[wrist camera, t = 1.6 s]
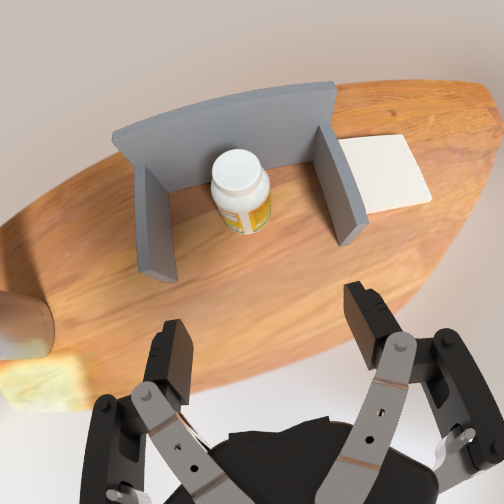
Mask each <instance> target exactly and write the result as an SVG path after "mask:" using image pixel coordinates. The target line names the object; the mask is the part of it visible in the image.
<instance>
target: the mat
mask: <svg viewBox="0 0 504 504" xmlns="http://www.w3.org/2000/svg"><path fill="white" fill-rule="evenodd" d="M338 142H339V145H340V147H341V149H342V152H343V154H344V156H345V159H346V161H347V164H348V166H349V168H350V171H351V173H352V176H353V179H354V181H355V184H356V186H357V189H358V192H359V195H360V197H361V200H362V203H363V206H364V209H365V212H366V214H369V213H375V212H380V211H385V210H390V209H395V208H400V207H405V206H410V205H416V204H421V203H426V202H429V201H431V200H432V197H431V194H430V192H429V189H428V187H427V185H426V182H425V180H424V178H423V176H422V173H421V171H420V169H419V167H418V165H417V163H416V161H415V158H414V156H413V154H412V152H411V150H410V148H409V147H408V145H407V143H406V141H405V139H404V137H403V135H402V134H397V135H382V136H369V137H359V138H349V139H340V140H338Z"/></svg>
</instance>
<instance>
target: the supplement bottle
mask: <svg viewBox="0 0 504 504" xmlns="http://www.w3.org/2000/svg"><path fill="white" fill-rule="evenodd" d="M212 176H213V178H212V182H211V194H212V197H213V199H214V201H215V203H216V205H217V207H218V209H219V211H220V213H221V215H222V218H223V220H224V221H225V223H226V225H227V226H228V227H229V228H230V229H231V230H233V231H234V232H236V233H239V234H253V233H256V232H258V231H259V230H261V229H262V228H263V227H264V226H265V225H266V224H267V222H268V220H269V218H270V215H271V200H270V181H269V177H268V174H267V173H266V171H265V170H264V169H263V167H261V165H260V162H259V160H258V158H257V157H256V156H255V155H254V154H253V153H251V152H249V151H247V150H243V149H234V150H230V151H227V152H225V153H223V154H222V155H220V156H219V157H218V158H217V159H216V161H215V162H214V164H213V168H212Z"/></svg>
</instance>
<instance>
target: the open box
mask: <svg viewBox="0 0 504 504" xmlns="http://www.w3.org/2000/svg"><path fill="white" fill-rule="evenodd" d="M337 90H338V89H337V88H336V86H335V84H334V83H333V81H330V82H329V81H328V82H314V83H304V84H294V85H286V86H279V87H272V88H265V89H259V90H253V91H248V92H243V93H238V94H233V95H228V96H224V97H220V98H215V99H211V100H207V101H203V102H199V103H196V104H192V105H189V106H185V107H182V108H178V109H175V110H172V111H169V112H165V113H162V114H159V115H157V116H154V117H151V118H148V119H145V120H143V121H140V122H137V123H134V124H132V125H129V126H127V127H124V128H122V129H119V130H117V131H114V132H113V134H112V143H113V144H114V145H115V146H116V147H117V148H118V150H119V151H120V152H121V153H122V154H123V155H124V156H125V158H126V159H127V160H128V161H129V162H130V163H131V164H132V166H133V167H134V168H135V227H136V244H137V257H138V269H139V273H142V274H144V275H147V276H150V277H152V278H155V279H158V280H161V281H163V282H166V283H171V282H176V281H178V278H177V271H176V264H175V256H174V247H173V239H172V229H171V219H170V208H169V196H168V193H171V192H174V191H178V190H182V189H185V188H189V187H193V186H197V185H201V184H205V183H209V182H212V178H213V176H212V168H213V164H214V162H215V161H216V159H217V158H218V157H219V156H220V155H222V154H223V153H225V152H227V151H230V150H234V149H243V150H247V151H249V152H251V153H253V154H254V155H255V156H256V157H257V158H258V160H259V162H260V165H261V167H263V169H264V170H267V169H272V168H277V167H282V166H287V165H293V164H299V163H304V162H310V161H312V162H313V165H314V168H315V171H316V173H317V176H318V179H319V182H320V185H321V188H322V191H323V194H324V197H325V200H326V203H327V207H328V210H329V213H330V216H331V219H332V223H333V226H334V230H335V233H336V236H337V240H338V243H339V247H340V246H344V245H349V244H350V243H351V242H352V241H353V240H354V239H355V238H356V237H357V236H358V235H359V233H360V232H361V231H362V230H363V229H364V228H365V227H366V226H367V225H368V224H369V221H368V217H367V215H366V212H365V209H364V206H363V203H362V200H361V197H360V195H359V192H358V189H357V186H356V184H355V181H354V179H353V176H352V173H351V171H350V168H349V166H348V164H347V161H346V159H345V156H344V154H343V152H342V149H341V147H340V145H339V142H338V140H337V138H336V136H335V133H334V131H333V129H332V127H331V125H330V122H331V117H332V113H333V108H334V104H335V99H336V95H337Z"/></svg>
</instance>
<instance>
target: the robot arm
mask: <svg viewBox="0 0 504 504" xmlns="http://www.w3.org/2000/svg"><path fill="white" fill-rule="evenodd" d="M344 314H345V318H346V320H347V322H348V325H349V327H350V329H351V331H352V333H353V336H354V338H355V340H356V342H357V344H358V347H359V349H360V351H361V354H362V356H363V358H364V360H365V363H366V365H367V367H368V370H372V369H375V368H376V370H377V371H376V374H375V377H374V379H373V381H372V383H371V385H370V388H369V391H368V393H367V396H366V398H365V401H364V403H363V405H362V408H361V410H360V412H359V415H358V417H357V419H356V421H355V424H354V425H351V424H348V423H345V422H338V421H330V420H329V416H326V417H322V418H318V419H314V420H310V421H305V422H303V423H300V424H298V425H296V426H293V427H291V428H289V429H286V430H284V431H282V432H277V433H276V432H260V431H247V432H238V433H229V439H228V440H225V441H223V442H221V443H219V444H218V445H216V446H214V447H213V448H211V447H210V445H208V443H206V441H205V440H204V439H203V438H202V437H201V436H200V435H199V434H198V433H197V431H196V430H195V429H194V428H193V427H192V426H191V424H190V423H189V422H188V420H187V419H186V418H185V417H184V415H183V414H182V413H181V412H180V411H181V405H189V395H190V383H191V371H192V361H193V342H192V340H191V337H190V336H189V334H188V332H187V330H186V328H185V326H184V324H183V323H182V321H181V320H180V319H176V320H169V321H165V322H164V326H163V330H162V332H158V333H157V334H156V336H155V337H154V339H153V340H152V344H151V348H150V350H151V351H150V352H149V357H148V361H147V365H146V369H145V374H144V378H143V382H142V383H140V384H138V385H137V386H136V387H135V388H134V390H133V391H132V394H131V395H129V396H126V397H122V398H119V399H116V398H115V397H114V396H112V395H110V394H105V395H102V396H101V397H99V398H98V399H97V400H96V402H95V404H94V407H93V412H92V417H91V422H90V427H89V432H88V437H87V443H86V449H85V456H84V463H83V471H82V479H81V489H80V502H79V503H80V504H152V503H151V499H150V498H149V496H148V495H147V494H146V493H144V467H145V447H146V434H147V433H148V435H149V437H150V439H151V440H152V442H153V444H154V445H155V447H156V448H157V450H158V451H159V453H160V454H161V455H162V457H163V459H164V460H165V461H166V463H167V464H168V466H169V467H170V469H171V470H172V471H173V473H174V474H175V475H176V477H177V478H178V479H179V480H180V482H181V483H182V484H181V485H180V486H179V487H178V488H177V489H176V490H175V491H174V493H173V494H172V495H171V496H170V497H169V498H168V499H167V500H166V502H164V504H436V501H437V497H438V494H440V493H442V492H444V491H446V490H448V489H449V488H452V487H454V486H455V485H457V484H459V483H461V482H462V481H464V480H467V479H469V478H472V477H474V476H476V475H478V474H480V473H482V472H483V471H486V470H487V469H489V468H491V467H493V466H495V465H496V464H498V463H500V462H502V461H503V460H504V420H503V417H502V415H501V413H500V411H499V408H498V406H497V404H496V402H495V400H494V398H493V395H492V393H491V391H490V389H489V387H488V385H487V383H486V381H485V379H484V377H483V375H482V374H481V372H480V370H479V368H478V367H477V364H476V363H475V361H474V359H473V357H472V356H471V354H470V352H469V351H468V349H467V347H466V345H465V344H464V342H463V341H462V339H461V337H460V336H459V334H458V333H457V332H456V331H454V330H452V329H449V328H444V329H440V330H439V331H437V332H436V334H435V335H434V338H423V339H417V338H414V337H413V336H412V335H411V334H409V333H406V332H403V331H402V329H401V328H400V326H399V324H398V323H397V321H396V319H395V318H394V316H393V314H392V313H391V311H390V310H389V309H388V307H387V305H386V303H384V300H383V299H382V297H381V296H380V294H379V293H377V292H376V291H374V290H373V289H367V290H365V289H364V287H363V285H362V284H361V282H360V281H356V282H352V283H349V284H345V285H344ZM53 341H54V324H53V319H52V316H51V312H50V310H49V308H48V306H47V305H46V303H45V302H44V301H43V300H41V299H39V298H35V297H30V296H25V295H20V294H15V293H11V292H6V291H1V290H0V360H19V359H39V358H44V357H46V356H47V355H48V354H49V352H50V351H51V348H52V346H53ZM411 383H421V385H422V387H423V390H424V392H425V394H426V397H427V399H428V402H429V404H430V407H431V409H432V412H433V415H434V417H435V420H436V423H437V425H438V428H439V431H440V434H441V437H442V440H441V441H440V442H439V443H438V445H437V447H436V453H435V454H436V463H435V466H434V468H433V469H432V470H431V469H430V468H429V467H427V466H425V465H423V464H421V463H420V462H418V461H416V460H414V459H412V458H410V457H408V456H406V455H404V454H403V453H401V452H399V451H397V450H395V449H393V448H392V447H390V443H391V440H392V438H393V435H394V432H395V430H396V427H397V424H398V421H399V418H400V415H401V412H402V409H403V406H404V402H405V399H406V396H407V392H408V384H411Z"/></svg>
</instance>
